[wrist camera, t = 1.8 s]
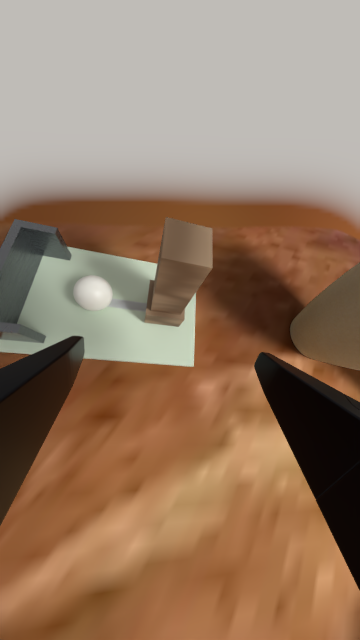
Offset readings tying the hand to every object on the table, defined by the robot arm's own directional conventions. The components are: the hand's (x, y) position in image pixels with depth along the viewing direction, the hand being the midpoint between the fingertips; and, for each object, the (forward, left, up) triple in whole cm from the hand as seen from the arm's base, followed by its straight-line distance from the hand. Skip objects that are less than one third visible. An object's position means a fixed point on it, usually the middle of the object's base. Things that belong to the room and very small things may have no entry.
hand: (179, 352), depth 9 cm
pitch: (+9, -2, -14) cm, 17 cm away
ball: (+11, 0, -11) cm, 15 cm away
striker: (+5, -6, -13) cm, 15 cm away
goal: (+15, +4, -13) cm, 20 cm away
